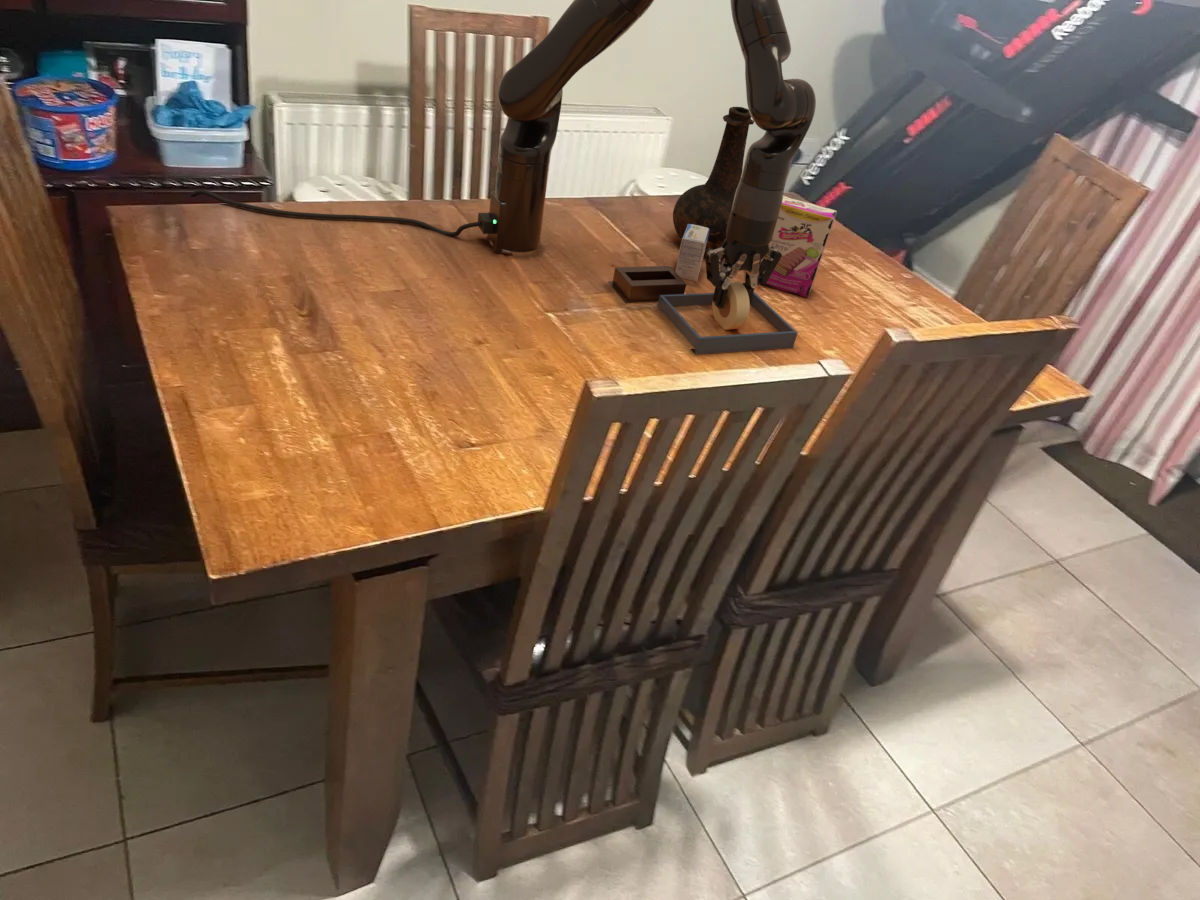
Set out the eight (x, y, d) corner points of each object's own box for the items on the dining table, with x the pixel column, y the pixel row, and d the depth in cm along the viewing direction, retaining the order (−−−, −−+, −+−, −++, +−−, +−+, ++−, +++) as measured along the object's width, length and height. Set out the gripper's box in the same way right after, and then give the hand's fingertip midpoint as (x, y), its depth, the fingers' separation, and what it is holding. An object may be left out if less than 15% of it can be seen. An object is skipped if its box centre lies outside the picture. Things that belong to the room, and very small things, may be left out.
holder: (687, 305, 164) (691, 285, 162) (624, 308, 159) (628, 287, 157) (667, 284, 170) (671, 264, 168) (606, 286, 166) (609, 265, 163)
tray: (695, 354, 150) (699, 338, 148) (656, 310, 161) (659, 294, 159) (793, 347, 157) (797, 332, 156) (749, 305, 168) (753, 291, 167)
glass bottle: (771, 262, 186) (810, 123, 170) (704, 273, 177) (740, 127, 161) (715, 227, 198) (747, 93, 181) (650, 236, 188) (677, 95, 172)
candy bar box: (751, 283, 177) (774, 201, 167) (756, 273, 181) (779, 193, 171) (808, 299, 175) (834, 217, 165) (812, 289, 179) (837, 209, 169)
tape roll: (729, 338, 156) (741, 296, 151) (708, 315, 161) (718, 273, 157) (742, 337, 157) (754, 295, 152) (720, 314, 162) (731, 273, 158)
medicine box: (695, 286, 172) (706, 242, 167) (672, 280, 172) (682, 237, 167) (700, 269, 178) (710, 227, 173) (678, 264, 178) (687, 222, 173)
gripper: (780, 200, 152) (754, 294, 162) (705, 200, 147) (683, 297, 156) (804, 219, 147) (776, 314, 157) (728, 219, 141) (703, 318, 151)
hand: (730, 305), depth 156 cm, fingers open, 4 cm apart
